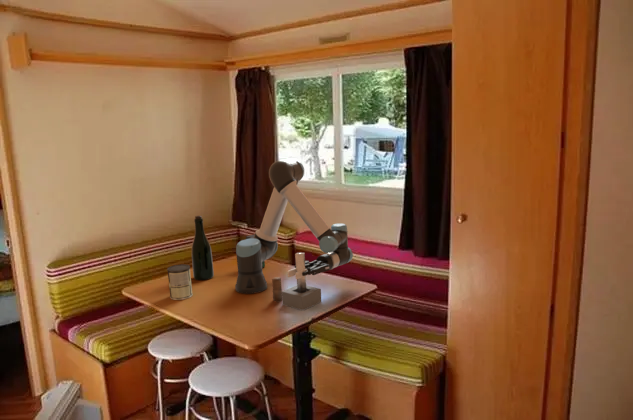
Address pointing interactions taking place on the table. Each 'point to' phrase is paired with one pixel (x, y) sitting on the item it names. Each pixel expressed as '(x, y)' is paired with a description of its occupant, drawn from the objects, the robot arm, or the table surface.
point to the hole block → (301, 297)
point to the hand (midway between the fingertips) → (292, 274)
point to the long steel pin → (300, 266)
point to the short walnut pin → (277, 289)
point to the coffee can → (179, 282)
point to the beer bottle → (201, 253)
